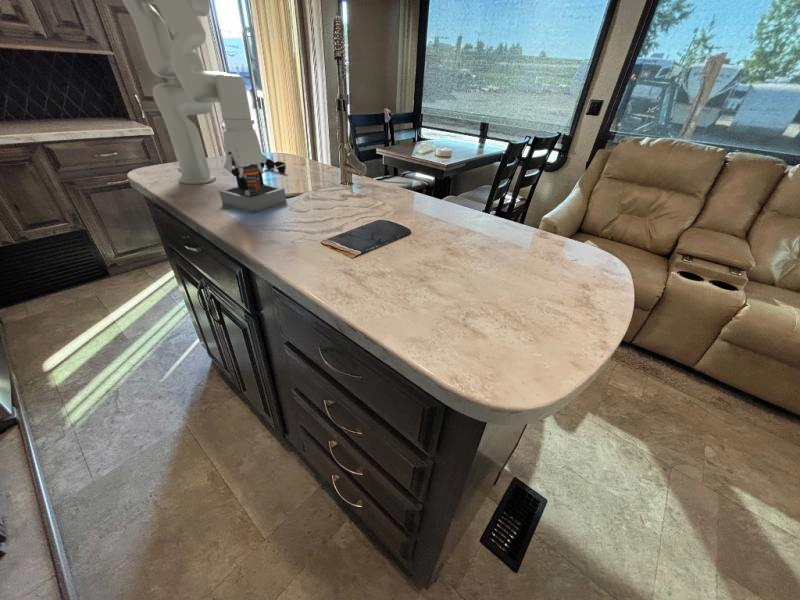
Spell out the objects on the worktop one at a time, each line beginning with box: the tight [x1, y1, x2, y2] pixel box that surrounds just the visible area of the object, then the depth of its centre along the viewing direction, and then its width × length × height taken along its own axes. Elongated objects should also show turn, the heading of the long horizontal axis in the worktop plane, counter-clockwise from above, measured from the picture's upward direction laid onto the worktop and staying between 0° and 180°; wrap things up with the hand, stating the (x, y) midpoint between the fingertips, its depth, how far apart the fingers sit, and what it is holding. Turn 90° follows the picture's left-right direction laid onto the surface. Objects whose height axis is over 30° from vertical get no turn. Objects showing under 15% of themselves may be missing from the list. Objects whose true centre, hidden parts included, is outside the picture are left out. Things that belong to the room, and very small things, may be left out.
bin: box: [218, 183, 287, 214], centre depth 108 cm, size 14×14×4 cm
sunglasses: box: [262, 158, 287, 175], centre depth 137 cm, size 14×16×5 cm
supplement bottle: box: [238, 164, 263, 197], centre depth 104 cm, size 6×6×11 cm
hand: (251, 186), depth 106 cm, fingers closed on supplement bottle, 5 cm apart
